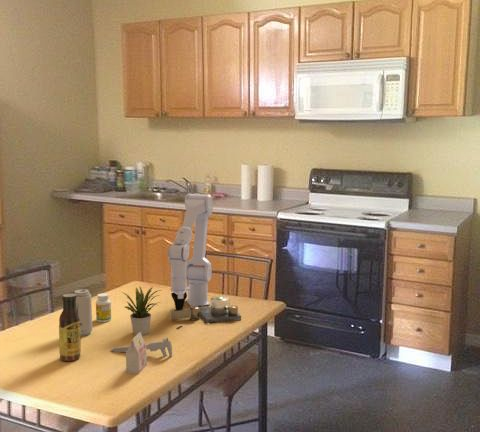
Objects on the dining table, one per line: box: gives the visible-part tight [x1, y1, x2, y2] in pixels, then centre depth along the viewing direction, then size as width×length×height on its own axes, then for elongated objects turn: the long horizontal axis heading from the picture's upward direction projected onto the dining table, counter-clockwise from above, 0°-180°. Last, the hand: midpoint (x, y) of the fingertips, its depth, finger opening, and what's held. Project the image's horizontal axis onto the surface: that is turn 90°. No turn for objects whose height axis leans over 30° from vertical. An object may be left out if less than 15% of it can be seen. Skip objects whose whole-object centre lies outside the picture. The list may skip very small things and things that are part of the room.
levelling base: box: [176, 295, 242, 330], centre depth 213 cm, size 17×25×7 cm
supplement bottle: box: [95, 292, 112, 323], centre depth 211 cm, size 5×5×10 cm
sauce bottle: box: [58, 293, 82, 362], centre depth 175 cm, size 6×6×20 cm
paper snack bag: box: [125, 332, 148, 375], centre depth 168 cm, size 4×7×10 cm, turn 169°
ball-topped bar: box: [169, 306, 201, 321], centre depth 212 cm, size 11×4×4 cm, turn 108°
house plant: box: [121, 285, 162, 336], centre depth 197 cm, size 14×14×16 cm
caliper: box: [109, 337, 173, 358], centre depth 180 cm, size 20×1×6 cm, turn 77°
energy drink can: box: [73, 288, 93, 337], centre depth 197 cm, size 6×6×15 cm
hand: (179, 312), depth 215 cm, fingers closed
